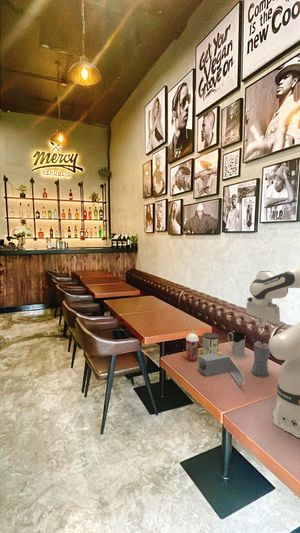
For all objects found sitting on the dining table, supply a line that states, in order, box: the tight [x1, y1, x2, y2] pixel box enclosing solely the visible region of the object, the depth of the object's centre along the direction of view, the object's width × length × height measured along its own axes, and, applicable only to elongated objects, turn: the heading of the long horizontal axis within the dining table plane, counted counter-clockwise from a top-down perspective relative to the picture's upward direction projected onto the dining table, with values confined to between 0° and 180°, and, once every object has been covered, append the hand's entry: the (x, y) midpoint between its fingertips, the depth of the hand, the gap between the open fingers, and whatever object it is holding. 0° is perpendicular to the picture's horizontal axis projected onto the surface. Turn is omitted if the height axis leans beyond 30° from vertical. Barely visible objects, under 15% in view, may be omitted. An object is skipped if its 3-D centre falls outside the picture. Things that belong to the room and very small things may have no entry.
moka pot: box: [251, 339, 271, 378], centre depth 159 cm, size 10×15×20 cm, turn 11°
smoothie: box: [185, 328, 200, 362], centre depth 175 cm, size 8×8×20 cm
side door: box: [229, 357, 246, 387], centre depth 150 cm, size 2×21×8 cm, turn 2°
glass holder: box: [227, 331, 246, 360], centre depth 185 cm, size 9×14×15 cm, turn 29°
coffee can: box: [201, 332, 220, 355], centre depth 183 cm, size 10×10×14 cm
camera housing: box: [197, 351, 231, 377], centre depth 161 cm, size 8×17×10 cm, turn 114°
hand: (261, 326), depth 148 cm, fingers closed
